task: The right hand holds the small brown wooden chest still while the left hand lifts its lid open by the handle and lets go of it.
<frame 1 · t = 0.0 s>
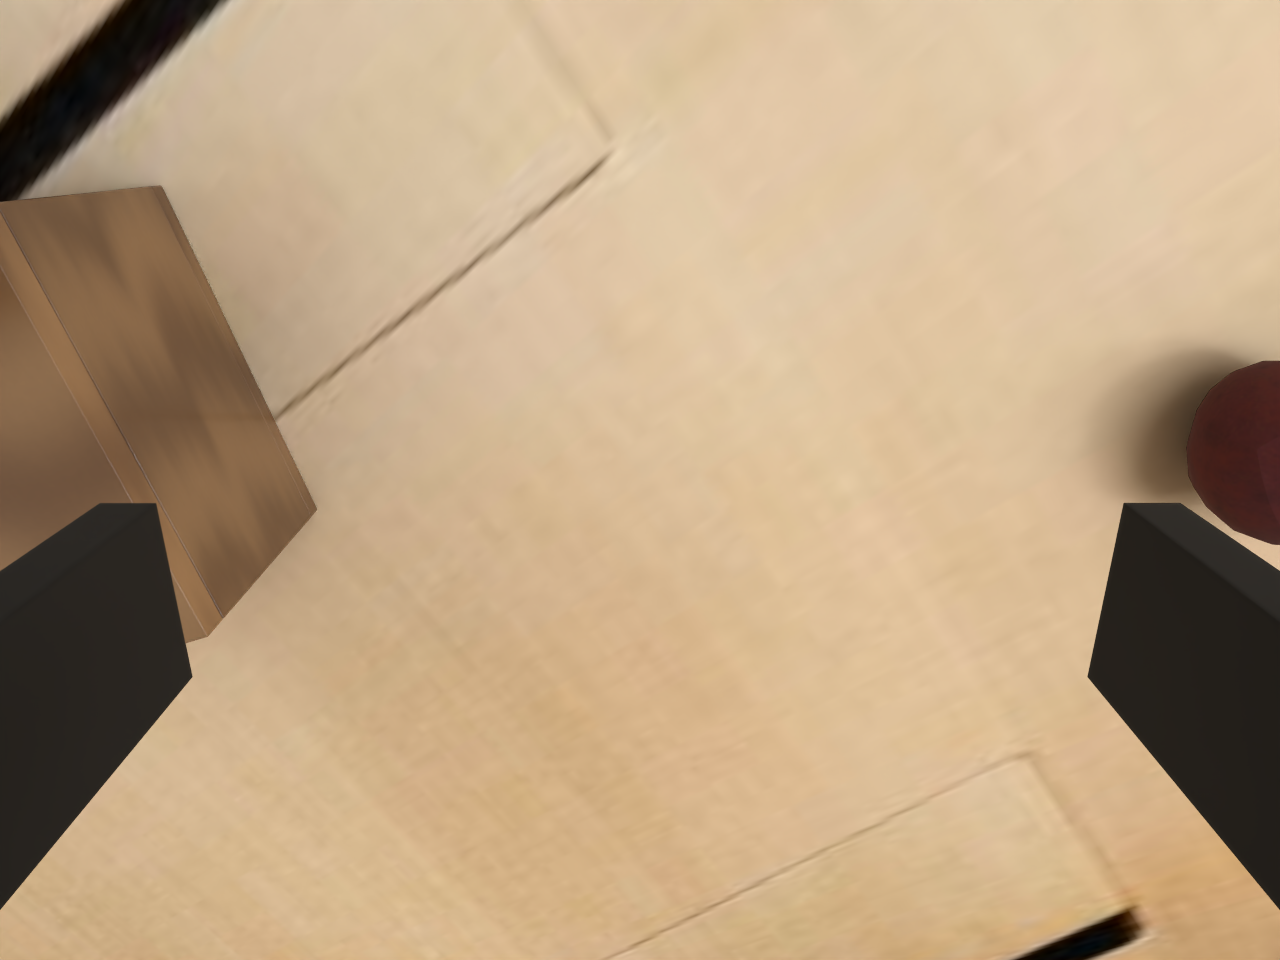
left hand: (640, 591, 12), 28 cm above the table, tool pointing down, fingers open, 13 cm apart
chest: (150, 388, 40), on the table
potato: (1232, 423, 41), on the table
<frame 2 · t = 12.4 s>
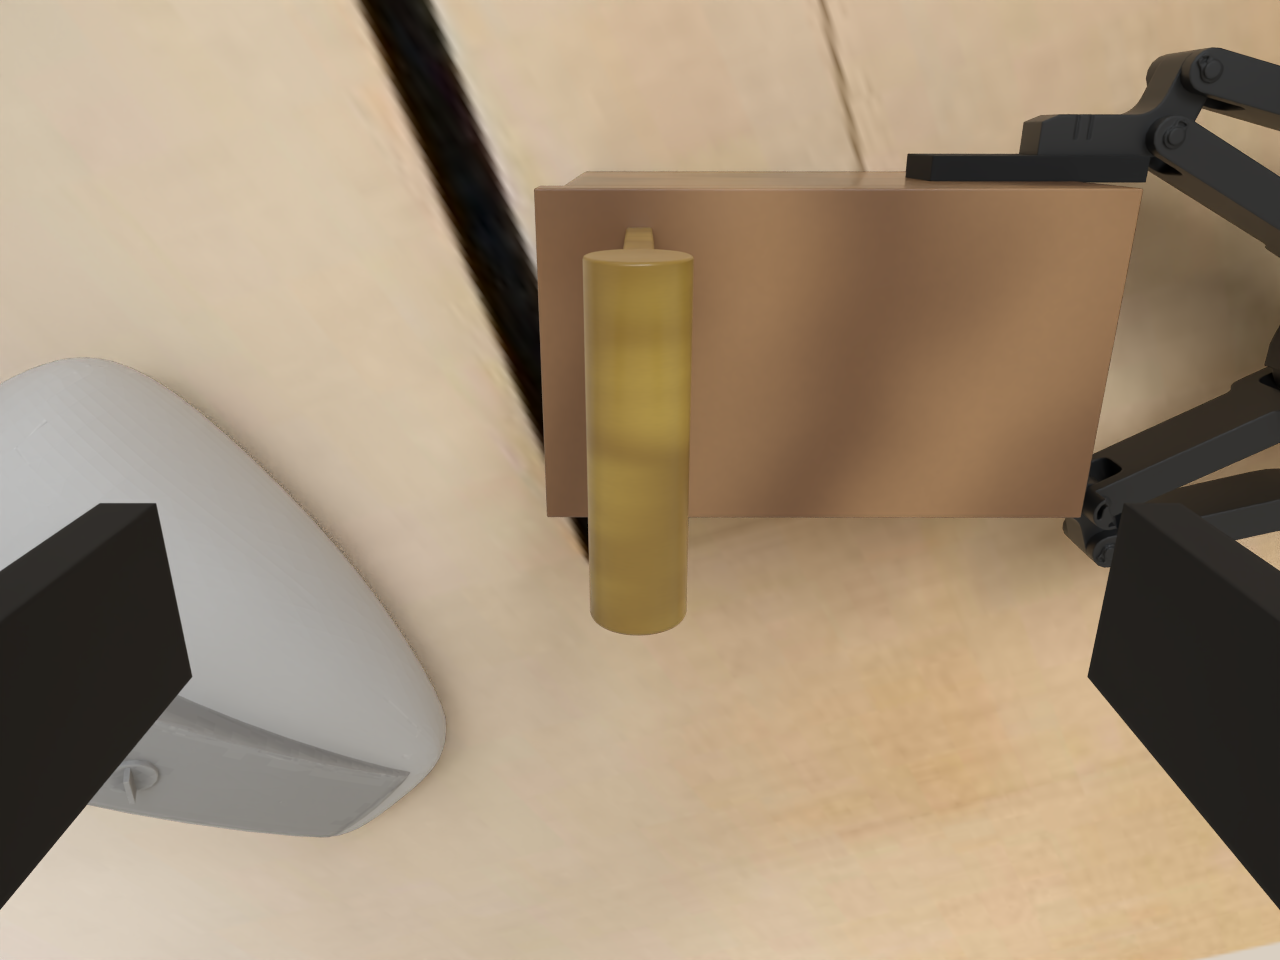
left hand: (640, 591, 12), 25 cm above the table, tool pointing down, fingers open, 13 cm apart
chest: (778, 295, 36), on the table, touching right hand
lid: (852, 398, 22), point 15 cm above the table, hinge at 0.0°
projector: (229, 600, 41), on the table
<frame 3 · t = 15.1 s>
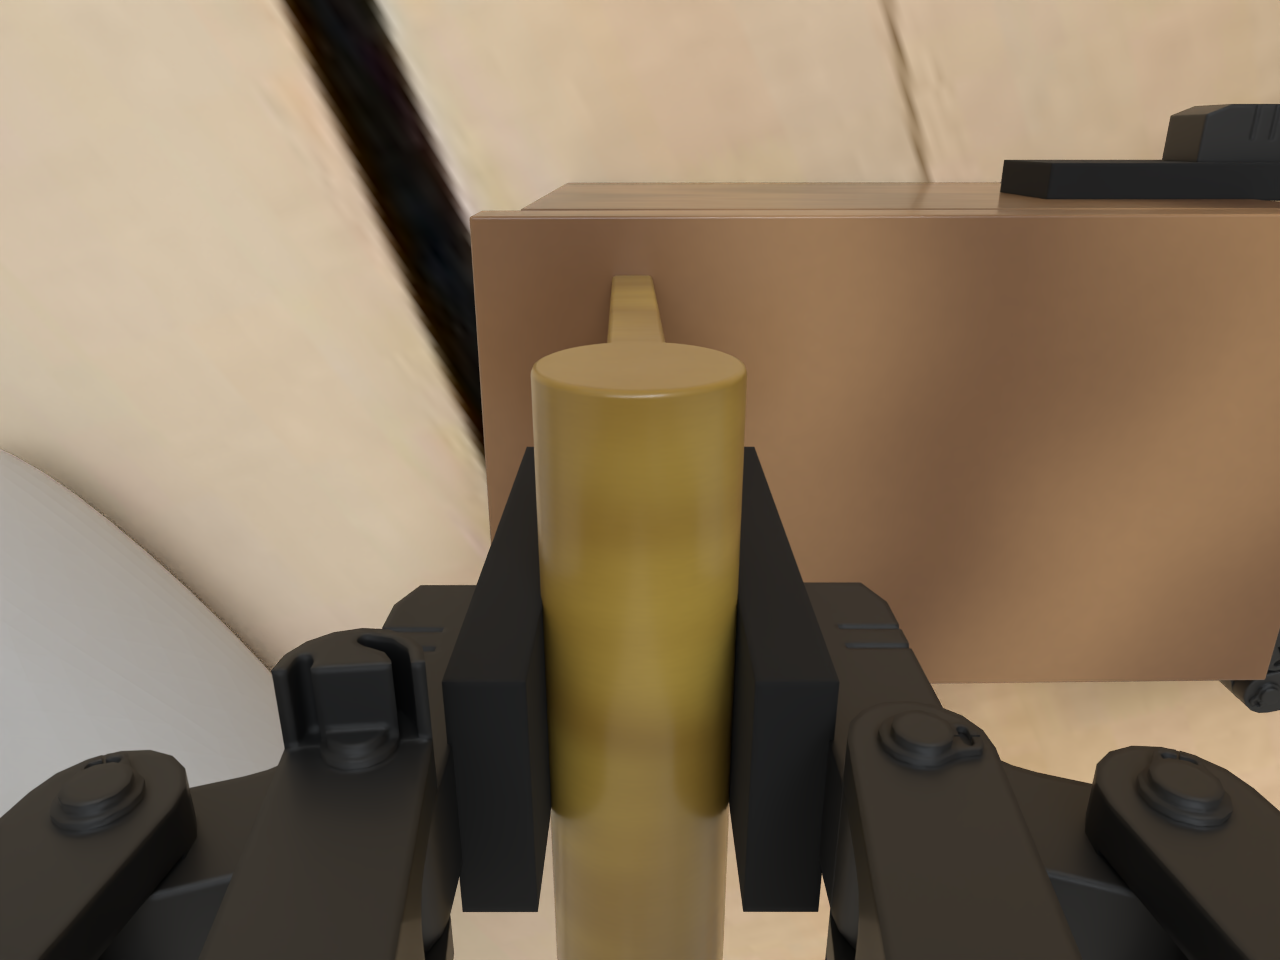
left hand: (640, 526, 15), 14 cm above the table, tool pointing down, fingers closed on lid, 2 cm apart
chest: (816, 341, 28), on the table, touching right hand
lid: (977, 552, 14), point 15 cm above the table, hinge at 1.5°, touching left hand
projector: (132, 715, 33), on the table
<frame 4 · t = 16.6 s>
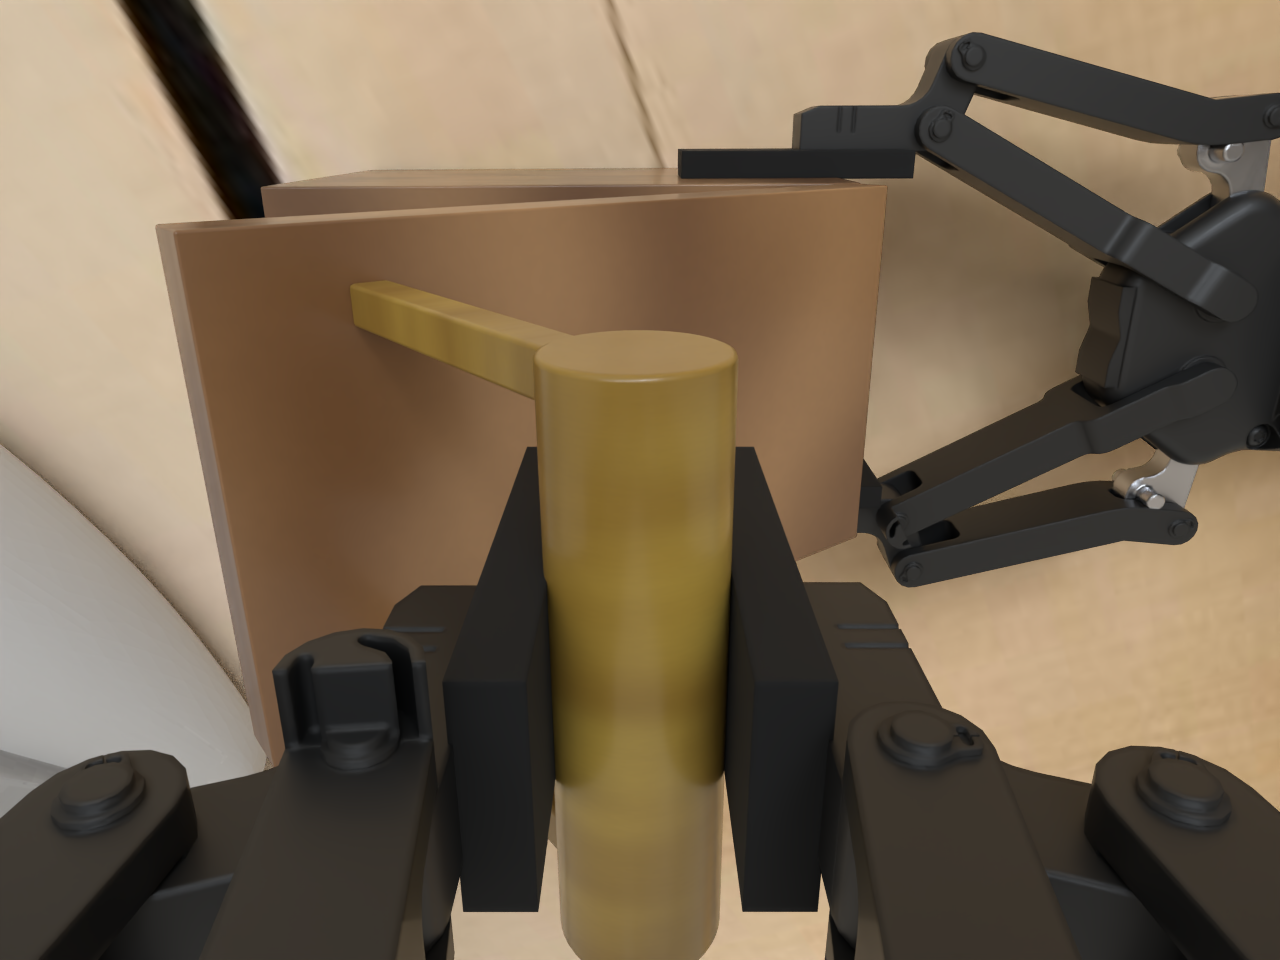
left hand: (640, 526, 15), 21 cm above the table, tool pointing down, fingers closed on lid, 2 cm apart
right hand: (678, 333, 28), fingers closed on chest, 9 cm apart
chest: (586, 299, 34), on the table, touching right hand
lid: (742, 481, 16), point 19 cm above the table, hinge at 37.5°, touching left hand
projector: (37, 620, 39), on the table
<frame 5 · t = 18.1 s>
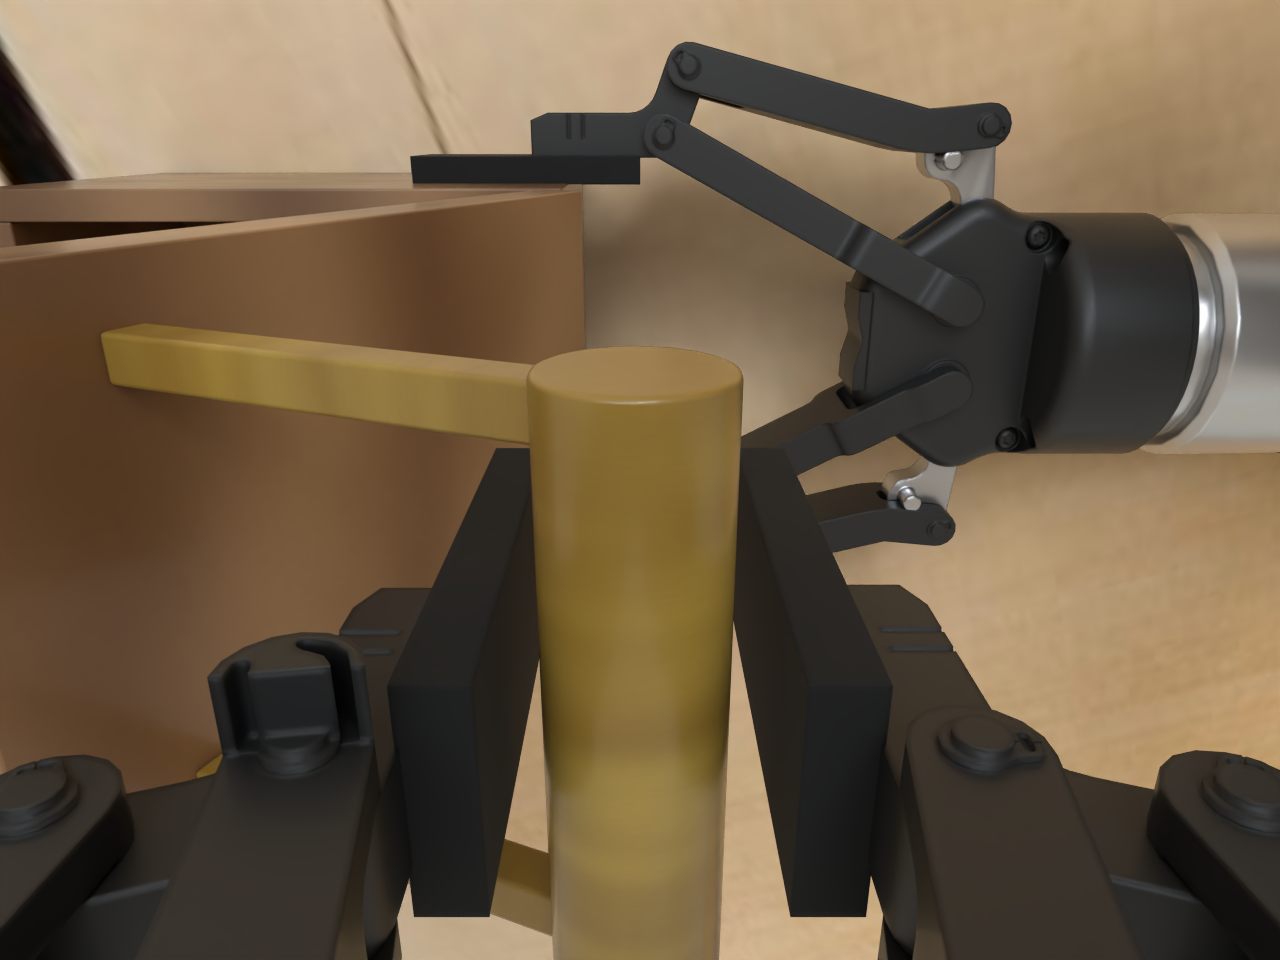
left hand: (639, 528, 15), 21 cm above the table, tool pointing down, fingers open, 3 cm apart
right hand: (436, 335, 29), fingers closed on chest, 9 cm apart
chest: (386, 301, 35), on the table, touching right hand
lid: (562, 494, 16), point 20 cm above the table, hinge at 66.5°
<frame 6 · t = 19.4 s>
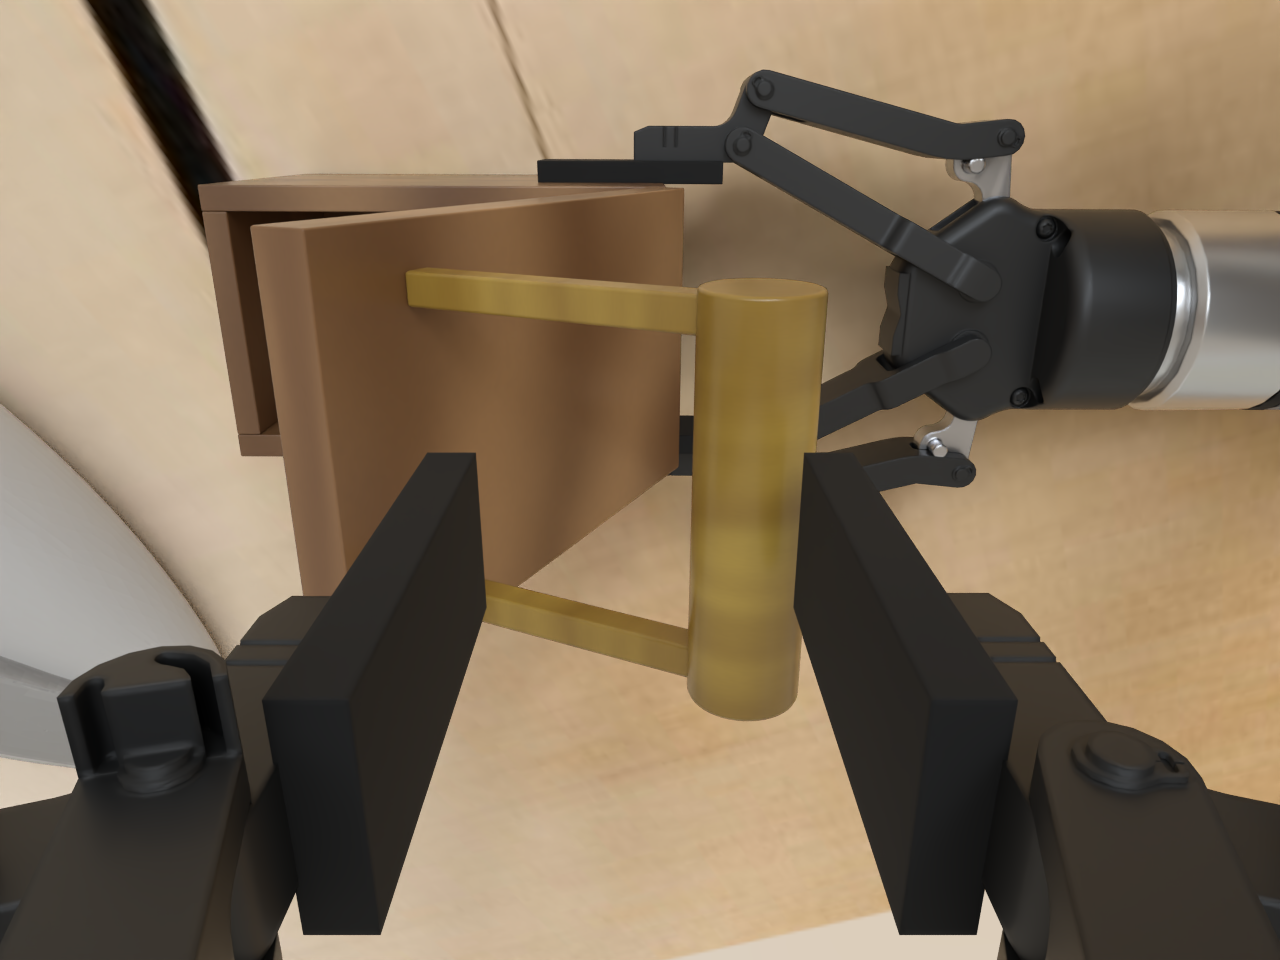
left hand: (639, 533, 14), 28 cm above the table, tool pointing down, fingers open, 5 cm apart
right hand: (546, 309, 35), fingers closed on chest, 9 cm apart
chest: (489, 284, 41), on the table, touching right hand
lid: (680, 407, 22), point 20 cm above the table, hinge at 63.8°
projector: (28, 557, 46), on the table
when the right hand's fingers open (6 cm above the table, at t = 21.8 s): chest stays where it is, on the table.
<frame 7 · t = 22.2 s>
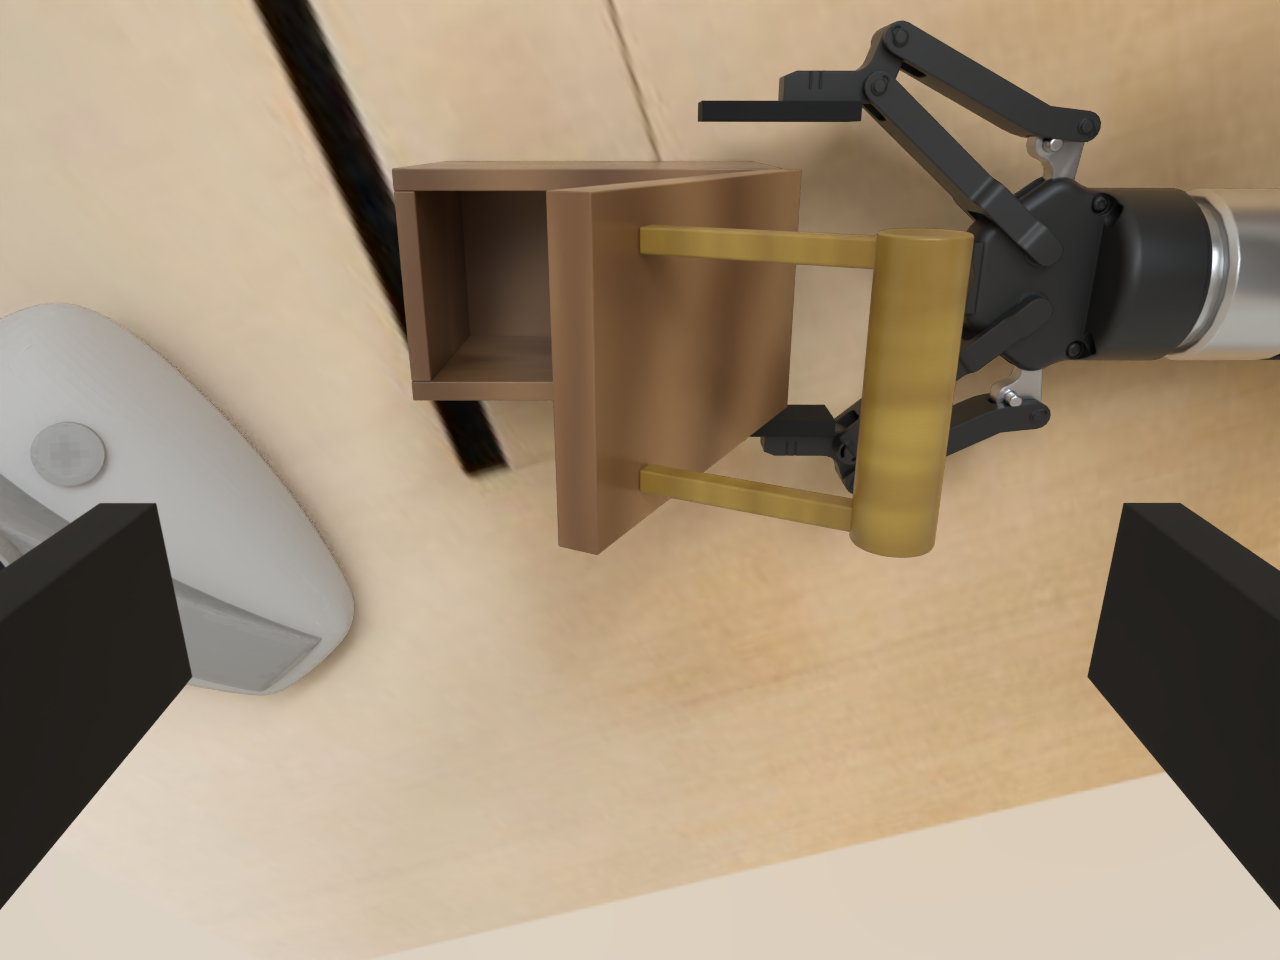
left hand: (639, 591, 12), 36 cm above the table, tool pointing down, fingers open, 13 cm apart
right hand: (694, 275, 40), fingers open, 13 cm apart
chest: (600, 257, 46), on the table
lid: (821, 340, 28), point 20 cm above the table, hinge at 62.9°
projector: (180, 505, 51), on the table
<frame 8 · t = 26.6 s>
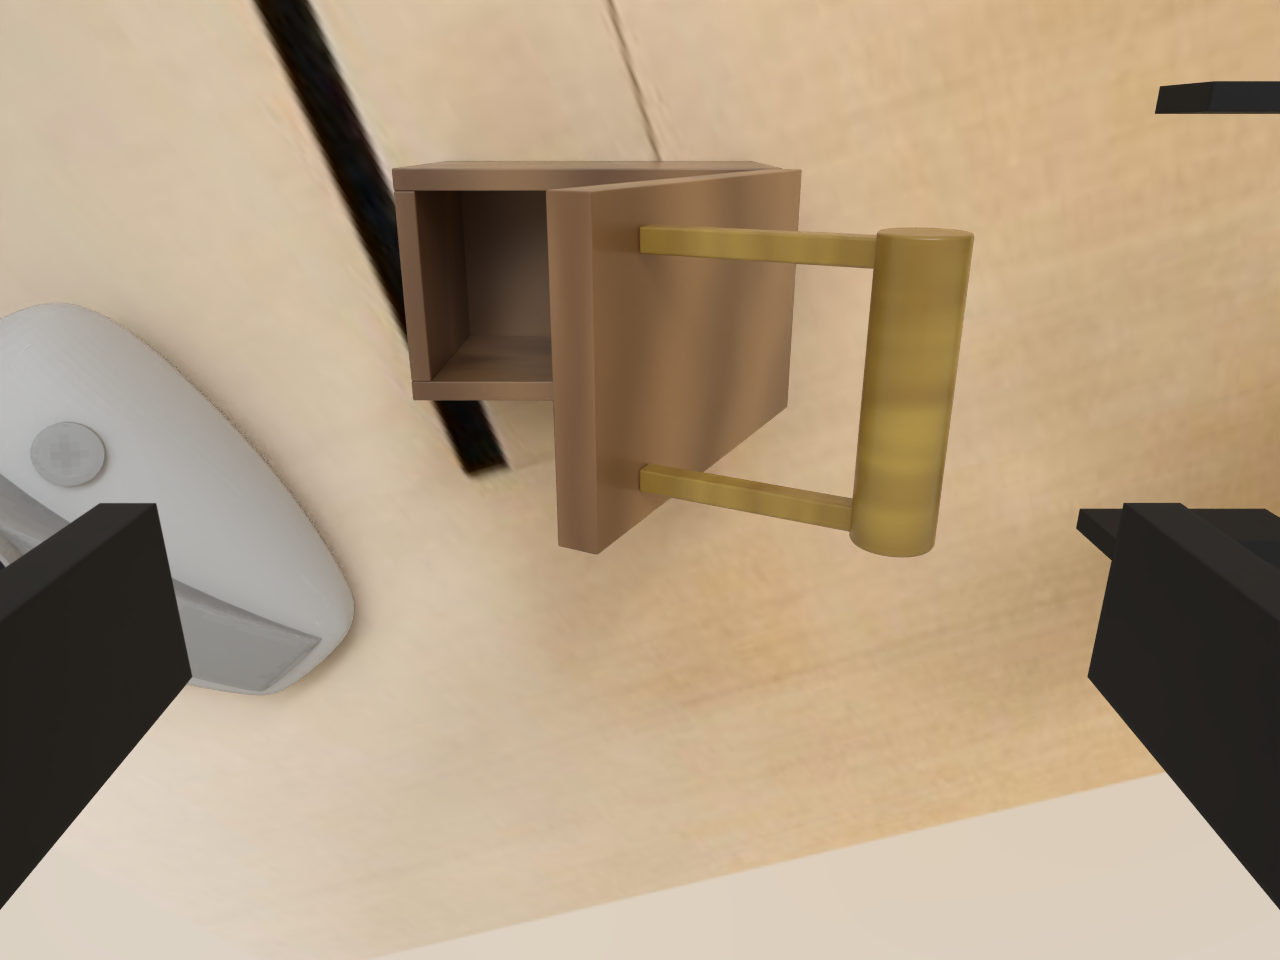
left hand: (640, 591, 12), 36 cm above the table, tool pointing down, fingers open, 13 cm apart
chest: (600, 257, 46), on the table
lid: (821, 340, 28), point 20 cm above the table, hinge at 62.9°
projector: (180, 505, 51), on the table
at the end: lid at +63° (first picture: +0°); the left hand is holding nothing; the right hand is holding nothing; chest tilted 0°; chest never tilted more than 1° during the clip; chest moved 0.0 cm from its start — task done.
